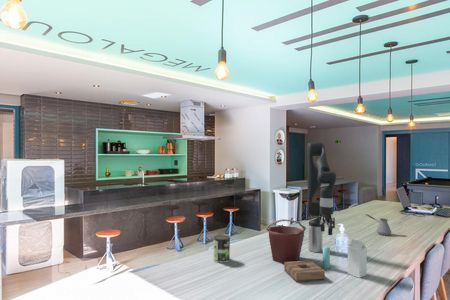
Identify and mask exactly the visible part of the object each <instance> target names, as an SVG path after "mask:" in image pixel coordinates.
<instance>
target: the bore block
mask: <svg viewBox="0 0 450 300" xmlns="http://www.w3.org/2000/svg"><path fill="white" fill-rule="evenodd" d="M283 265H284V266H283V267H284V272H285V273H286V274H287V275H288V276H289V277H290V278H291V279H292V280H293V281H294V282H295V283H304V282H305V283H306V282H319V281H326V279H325V275H326V274H325V272H326V271H325V269H323V268H321V267H320V266H319V265H317V264H316V263H315V262H313V261H312V260H298V261H294V262H285V264H283Z"/></svg>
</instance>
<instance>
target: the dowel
mask: <svg viewBox="0 0 450 300" xmlns="http://www.w3.org/2000/svg"><path fill="white" fill-rule="evenodd" d="M330 268H331V247H329V246H322V269H323V270H330Z"/></svg>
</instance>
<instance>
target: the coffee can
mask: <svg viewBox="0 0 450 300" xmlns="http://www.w3.org/2000/svg"><path fill="white" fill-rule="evenodd" d="M230 240H231V237H230V236H229V235H224V234H223V235H221V234H220V235H215V236H213V261H214V262H216V263H219V264H220V263H221V264H222V263H223V264H224V263H228V262H230V260H231V258H230V257H231V256H230V253H231V252H230V249H231V248H230V247H231V245H230V242H231V241H230Z"/></svg>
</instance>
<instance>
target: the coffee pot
mask: <svg viewBox="0 0 450 300" xmlns="http://www.w3.org/2000/svg"><path fill="white" fill-rule="evenodd" d="M365 216H367V217H369V218H370V219H372V220H374V221H376V222H378V226H377V227H376V230H375V232H376V233H377V234H378V235H379V236H386V237H387V236H390V235H391V234H392V230H391V227H390V225H389V223H388V221H389V219H388V218H379V220H378V219H376V218H375V217H373V216H372V215H369V214H367V213H365Z"/></svg>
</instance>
